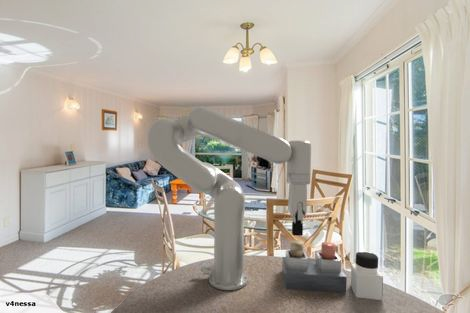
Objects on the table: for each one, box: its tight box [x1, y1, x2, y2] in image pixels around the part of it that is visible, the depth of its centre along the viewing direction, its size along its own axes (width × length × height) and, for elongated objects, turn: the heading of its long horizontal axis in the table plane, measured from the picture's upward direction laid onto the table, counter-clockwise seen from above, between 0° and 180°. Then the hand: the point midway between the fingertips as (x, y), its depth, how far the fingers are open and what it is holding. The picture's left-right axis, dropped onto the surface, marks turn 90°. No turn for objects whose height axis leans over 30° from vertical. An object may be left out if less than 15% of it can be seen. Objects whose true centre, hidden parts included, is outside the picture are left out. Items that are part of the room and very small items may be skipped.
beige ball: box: [289, 240, 305, 258], centre depth 86 cm, size 4×4×4 cm
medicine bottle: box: [350, 250, 384, 301], centre depth 79 cm, size 7×7×12 cm
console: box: [281, 249, 348, 294], centre depth 86 cm, size 18×12×9 cm, turn 84°
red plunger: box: [320, 241, 336, 259], centre depth 85 cm, size 4×4×4 cm
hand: (297, 234), depth 86 cm, fingers closed
